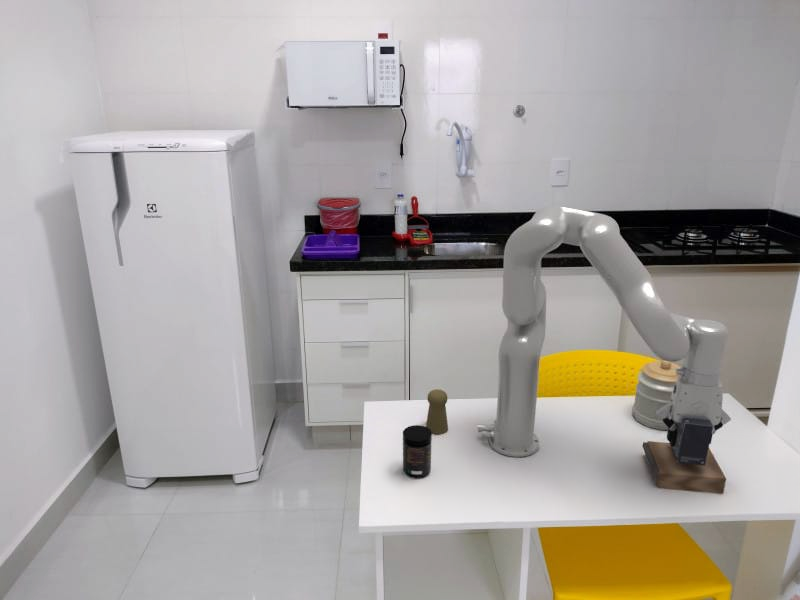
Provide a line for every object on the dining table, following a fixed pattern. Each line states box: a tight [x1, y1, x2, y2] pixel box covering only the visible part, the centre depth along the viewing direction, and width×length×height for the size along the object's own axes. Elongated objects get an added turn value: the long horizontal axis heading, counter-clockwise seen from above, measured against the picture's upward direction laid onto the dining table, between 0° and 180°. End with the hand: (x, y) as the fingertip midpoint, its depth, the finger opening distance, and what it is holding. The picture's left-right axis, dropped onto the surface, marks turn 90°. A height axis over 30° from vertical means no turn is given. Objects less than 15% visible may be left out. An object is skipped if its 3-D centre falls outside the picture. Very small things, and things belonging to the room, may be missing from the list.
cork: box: [425, 389, 449, 436], centre depth 163 cm, size 6×6×11 cm
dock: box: [641, 440, 727, 494], centre depth 146 cm, size 15×13×4 cm
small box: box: [668, 418, 713, 466], centre depth 143 cm, size 11×6×10 cm, turn 169°
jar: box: [632, 359, 682, 431], centre depth 167 cm, size 13×13×18 cm
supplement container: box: [402, 424, 433, 479], centre depth 146 cm, size 7×7×10 cm
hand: (687, 443), depth 144 cm, fingers closed on small box, 6 cm apart
